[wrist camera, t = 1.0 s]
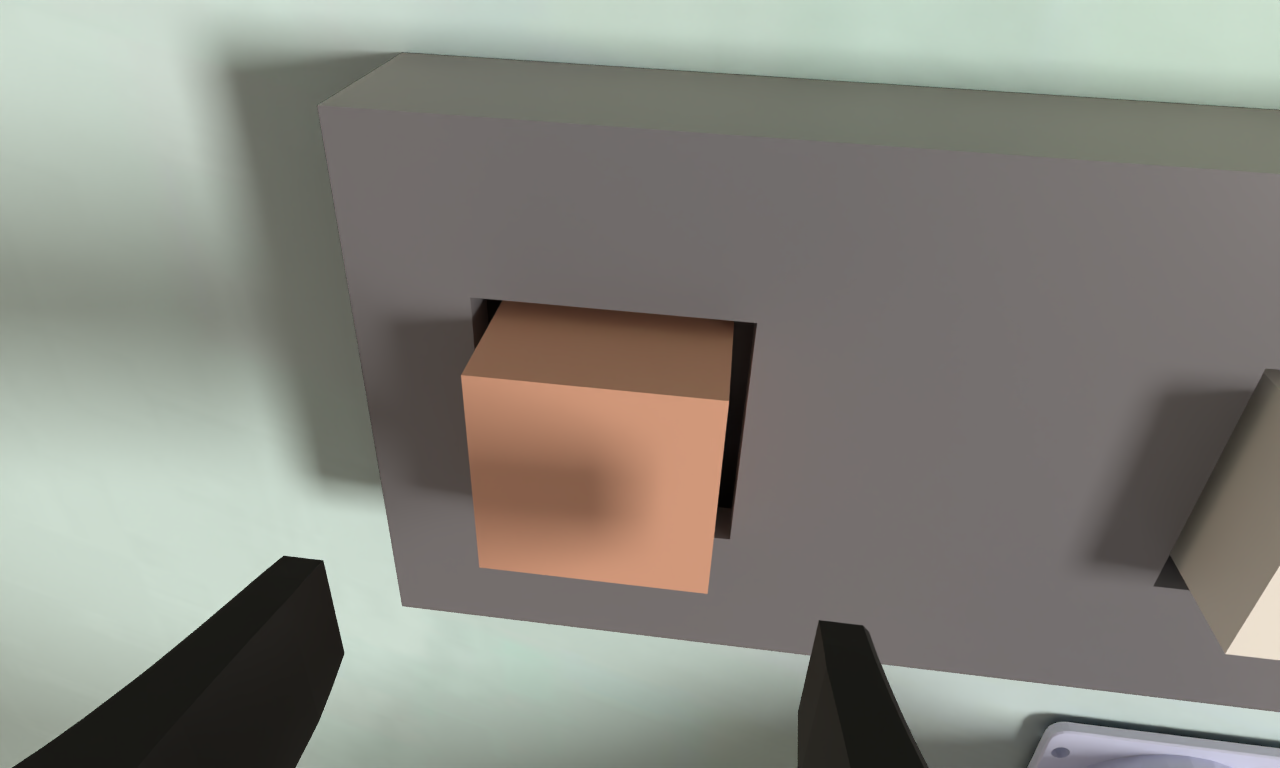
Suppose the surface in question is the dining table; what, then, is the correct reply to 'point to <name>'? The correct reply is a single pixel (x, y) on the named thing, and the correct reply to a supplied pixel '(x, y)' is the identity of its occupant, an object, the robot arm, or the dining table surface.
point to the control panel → (842, 344)
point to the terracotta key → (598, 443)
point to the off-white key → (1240, 533)
